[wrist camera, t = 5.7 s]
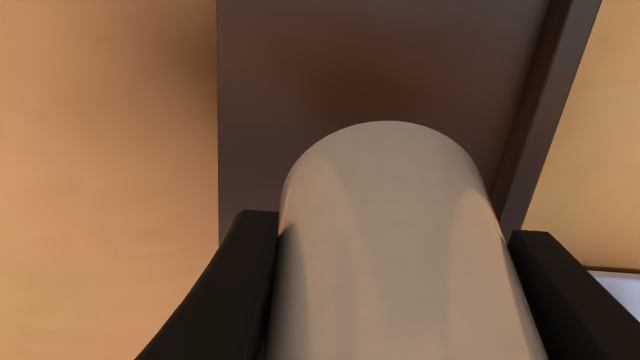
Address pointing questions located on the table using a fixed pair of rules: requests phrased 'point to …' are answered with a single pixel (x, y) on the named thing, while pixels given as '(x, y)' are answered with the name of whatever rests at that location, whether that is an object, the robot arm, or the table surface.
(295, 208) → the salt shaker
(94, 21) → the table surface
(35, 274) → the table surface
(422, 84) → the shelf
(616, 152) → the table surface
